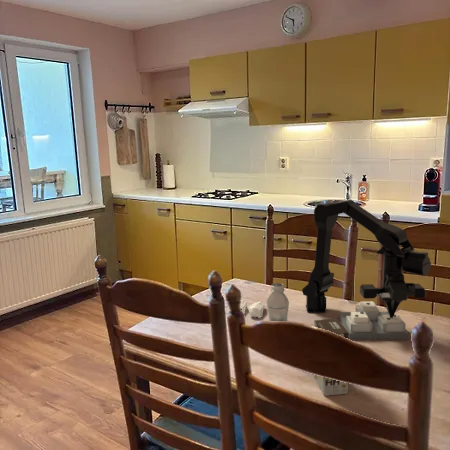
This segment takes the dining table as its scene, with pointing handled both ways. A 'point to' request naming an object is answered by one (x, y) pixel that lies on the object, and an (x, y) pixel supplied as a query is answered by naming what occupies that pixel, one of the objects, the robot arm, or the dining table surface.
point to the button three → (391, 319)
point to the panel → (373, 326)
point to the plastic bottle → (277, 303)
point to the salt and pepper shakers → (253, 308)
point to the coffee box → (328, 384)
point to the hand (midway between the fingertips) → (391, 316)
